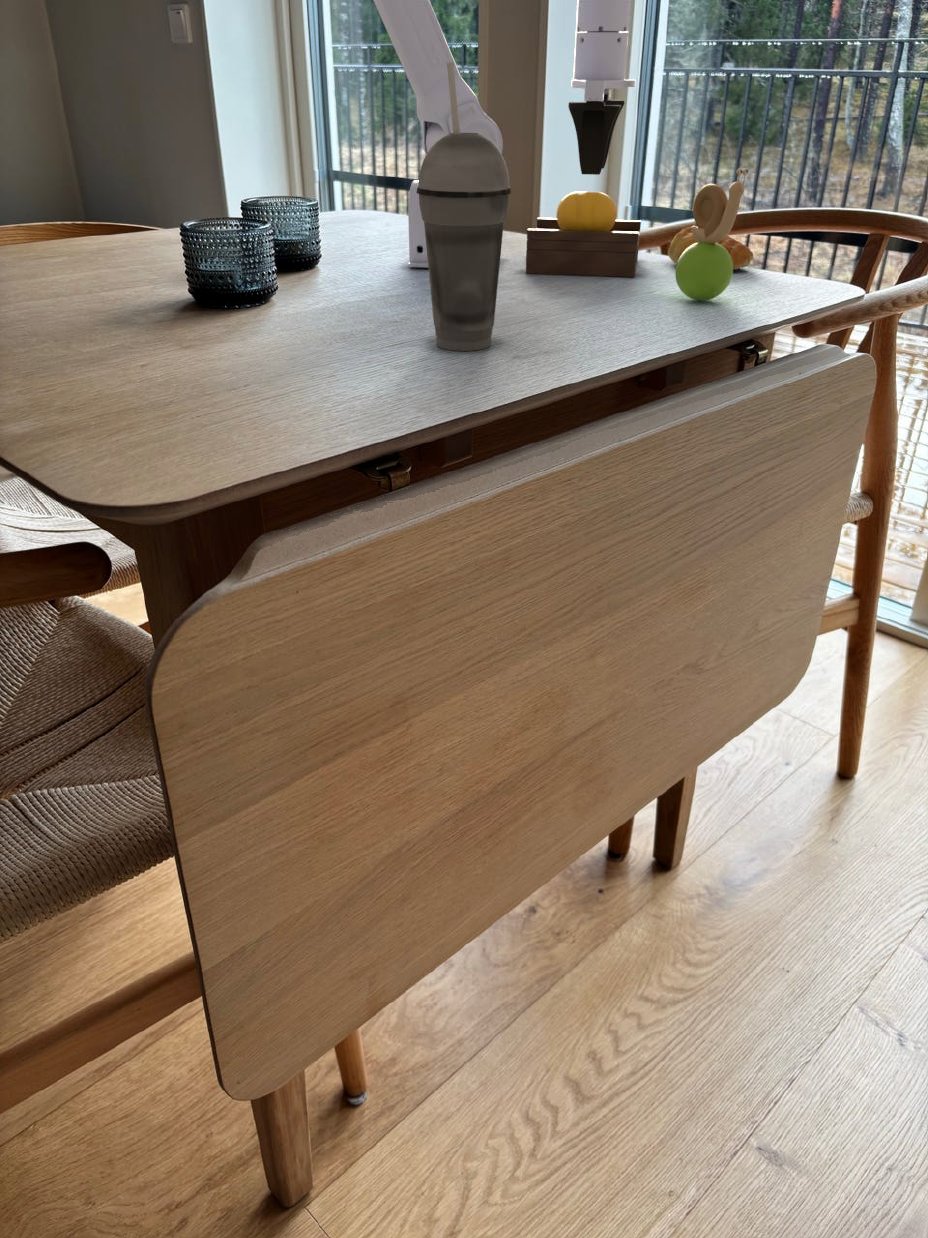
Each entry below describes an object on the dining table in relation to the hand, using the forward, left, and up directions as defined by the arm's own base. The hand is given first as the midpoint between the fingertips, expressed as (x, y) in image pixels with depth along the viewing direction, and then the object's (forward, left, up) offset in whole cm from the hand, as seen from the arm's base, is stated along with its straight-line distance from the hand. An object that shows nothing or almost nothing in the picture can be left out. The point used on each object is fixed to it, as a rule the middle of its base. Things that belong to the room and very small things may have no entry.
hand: (593, 171), depth 109 cm
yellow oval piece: (0, -7, -5) cm, 9 cm away
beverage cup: (-7, -44, -10) cm, 46 cm away
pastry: (+14, -3, -10) cm, 17 cm away
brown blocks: (0, -7, -9) cm, 12 cm away
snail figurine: (+13, -23, -10) cm, 28 cm away
